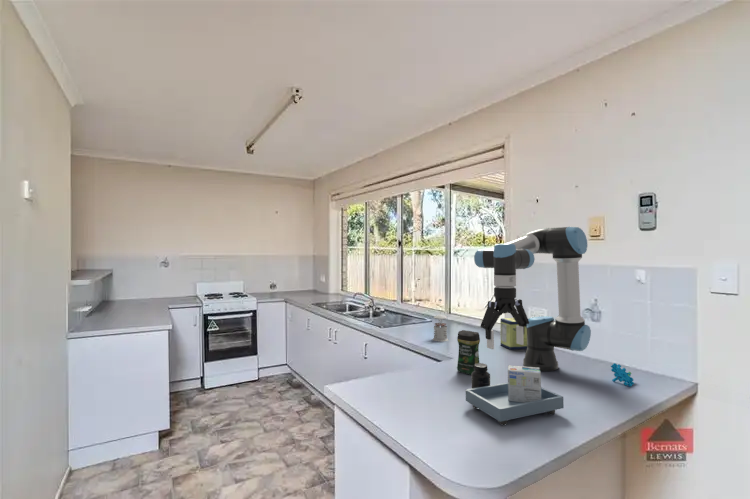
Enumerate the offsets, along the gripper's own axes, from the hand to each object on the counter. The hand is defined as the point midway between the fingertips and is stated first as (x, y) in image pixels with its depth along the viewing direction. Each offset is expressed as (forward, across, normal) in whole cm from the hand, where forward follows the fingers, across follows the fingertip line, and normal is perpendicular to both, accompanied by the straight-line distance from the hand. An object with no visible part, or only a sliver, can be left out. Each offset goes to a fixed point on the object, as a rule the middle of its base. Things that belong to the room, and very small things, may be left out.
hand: (505, 346), depth 138 cm
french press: (+21, +34, +94) cm, 102 cm away
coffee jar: (+21, +10, +34) cm, 41 cm away
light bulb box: (+18, +2, -6) cm, 19 cm away
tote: (+20, -2, -6) cm, 22 cm away
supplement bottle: (+21, -4, +9) cm, 23 cm away
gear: (+21, +58, -4) cm, 61 cm away
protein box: (+21, +63, +60) cm, 89 cm away
